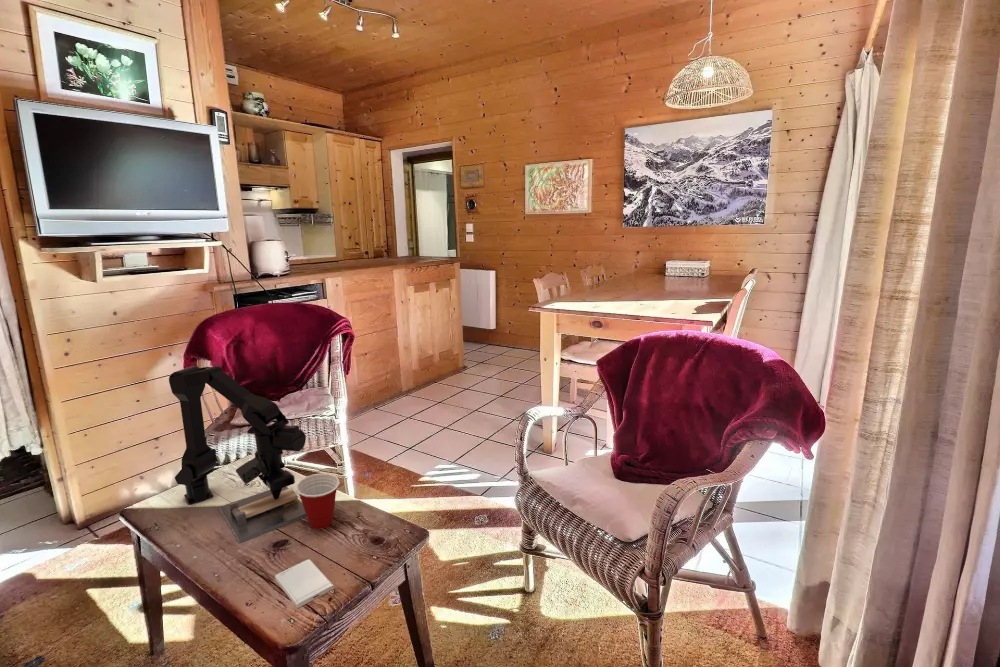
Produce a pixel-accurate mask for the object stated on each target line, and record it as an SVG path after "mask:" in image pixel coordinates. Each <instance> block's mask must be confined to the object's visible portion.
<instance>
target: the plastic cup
mask: <svg viewBox="0 0 1000 667" xmlns="http://www.w3.org/2000/svg"><path fill="white" fill-rule="evenodd" d="M339 485H340V479H339V478H338V477H337V476H336V475H334V474H332V473H331V474H330V473H325V472H324V473H322V472H321V473H316V474H315V473H313V474H310V475H308V476H305V477H304V478H302V479H300V480H299V481H298V482H297V484H296V485H295V491H296V492H297V494H298V495H299V497H300V500H301V503H302V504H303V507H304V510H305V513H306V516H307V517H306V518H307V520H308V523H309V526H310V527H311V529H314V530H323V529H326V528H328V527H329V526H331V525H332V524H331V523H333V522H332V521H334V515H335V514H334V512H335V505H336V494H337V491H338V488H339ZM330 524H331V525H330Z"/></svg>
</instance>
